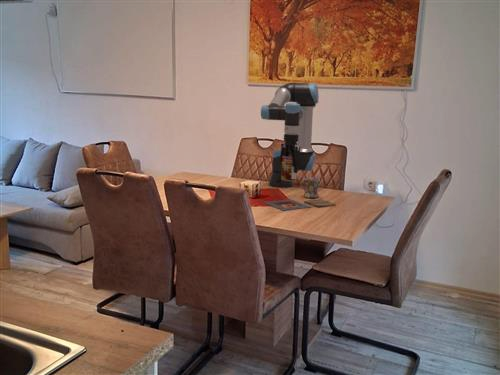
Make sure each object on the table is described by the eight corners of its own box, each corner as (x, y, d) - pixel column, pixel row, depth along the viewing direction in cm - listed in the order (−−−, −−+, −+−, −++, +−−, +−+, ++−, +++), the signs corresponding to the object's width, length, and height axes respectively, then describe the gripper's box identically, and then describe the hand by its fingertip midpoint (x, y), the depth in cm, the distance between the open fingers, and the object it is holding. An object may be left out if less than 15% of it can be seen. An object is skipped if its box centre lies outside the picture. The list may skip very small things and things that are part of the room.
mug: (321, 196, 272) (322, 178, 270) (315, 199, 264) (317, 181, 262) (302, 194, 278) (303, 176, 275) (296, 196, 270) (297, 178, 267)
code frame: (263, 203, 251) (263, 202, 251) (290, 200, 261) (290, 199, 260) (283, 211, 236) (283, 210, 236) (311, 207, 246) (311, 206, 245)
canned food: (284, 181, 241) (285, 157, 238) (279, 178, 248) (280, 155, 246) (298, 180, 243) (299, 157, 240) (293, 177, 250) (294, 155, 248)
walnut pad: (304, 202, 255) (304, 201, 255) (321, 200, 262) (321, 199, 261) (318, 207, 245) (318, 206, 245) (335, 205, 252) (335, 203, 252)
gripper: (273, 131, 247) (271, 174, 252) (297, 136, 230) (295, 181, 235) (285, 131, 251) (283, 173, 256) (309, 135, 234) (306, 180, 239)
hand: (288, 177), depth 245 cm, fingers closed on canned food, 8 cm apart
